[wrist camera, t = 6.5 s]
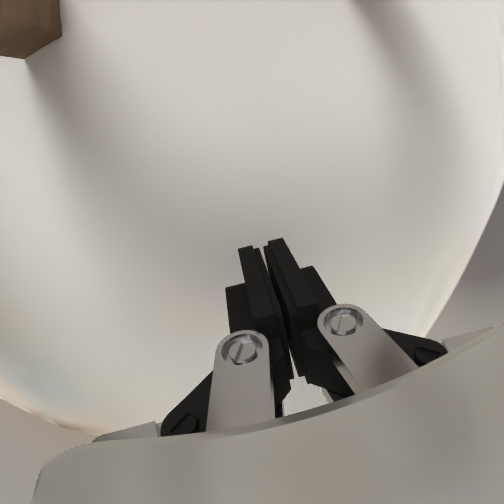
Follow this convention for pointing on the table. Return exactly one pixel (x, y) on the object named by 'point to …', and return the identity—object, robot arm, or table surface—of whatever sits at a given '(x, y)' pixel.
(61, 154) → the table surface
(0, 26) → the bridge
